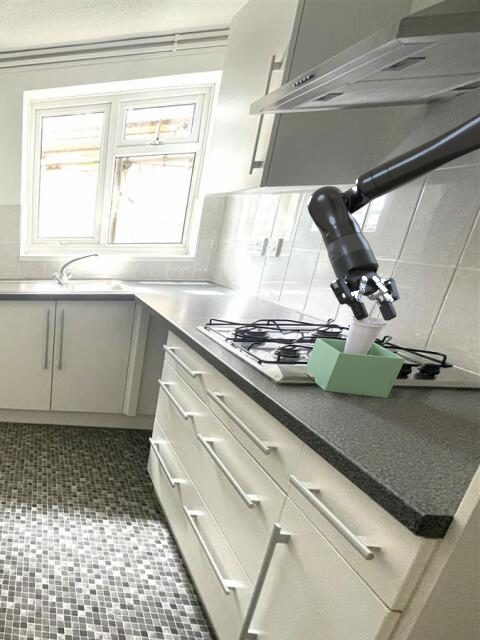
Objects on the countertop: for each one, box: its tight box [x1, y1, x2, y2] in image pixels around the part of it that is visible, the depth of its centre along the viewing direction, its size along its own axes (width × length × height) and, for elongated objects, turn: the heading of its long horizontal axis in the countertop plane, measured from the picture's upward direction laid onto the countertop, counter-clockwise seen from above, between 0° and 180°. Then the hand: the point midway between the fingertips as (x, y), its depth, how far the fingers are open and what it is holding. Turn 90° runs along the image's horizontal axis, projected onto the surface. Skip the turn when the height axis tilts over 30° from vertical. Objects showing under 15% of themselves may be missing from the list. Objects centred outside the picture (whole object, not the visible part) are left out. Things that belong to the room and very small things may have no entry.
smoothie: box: [344, 300, 388, 355], centre depth 97 cm, size 6×6×14 cm
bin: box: [305, 337, 406, 399], centre depth 101 cm, size 12×12×10 cm
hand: (377, 318), depth 94 cm, fingers closed on smoothie, 6 cm apart
